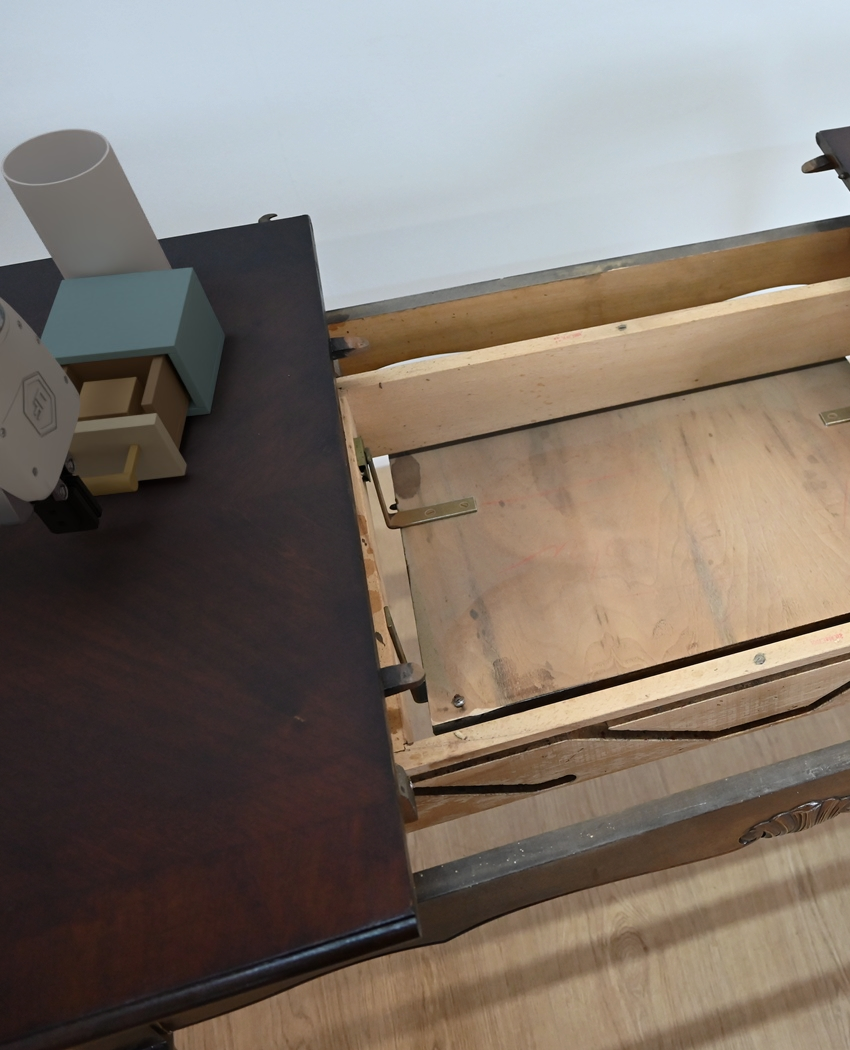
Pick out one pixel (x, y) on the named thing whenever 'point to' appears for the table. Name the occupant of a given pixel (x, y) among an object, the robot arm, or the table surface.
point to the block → (111, 399)
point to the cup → (82, 205)
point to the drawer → (131, 426)
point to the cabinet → (140, 325)
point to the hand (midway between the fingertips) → (78, 522)
